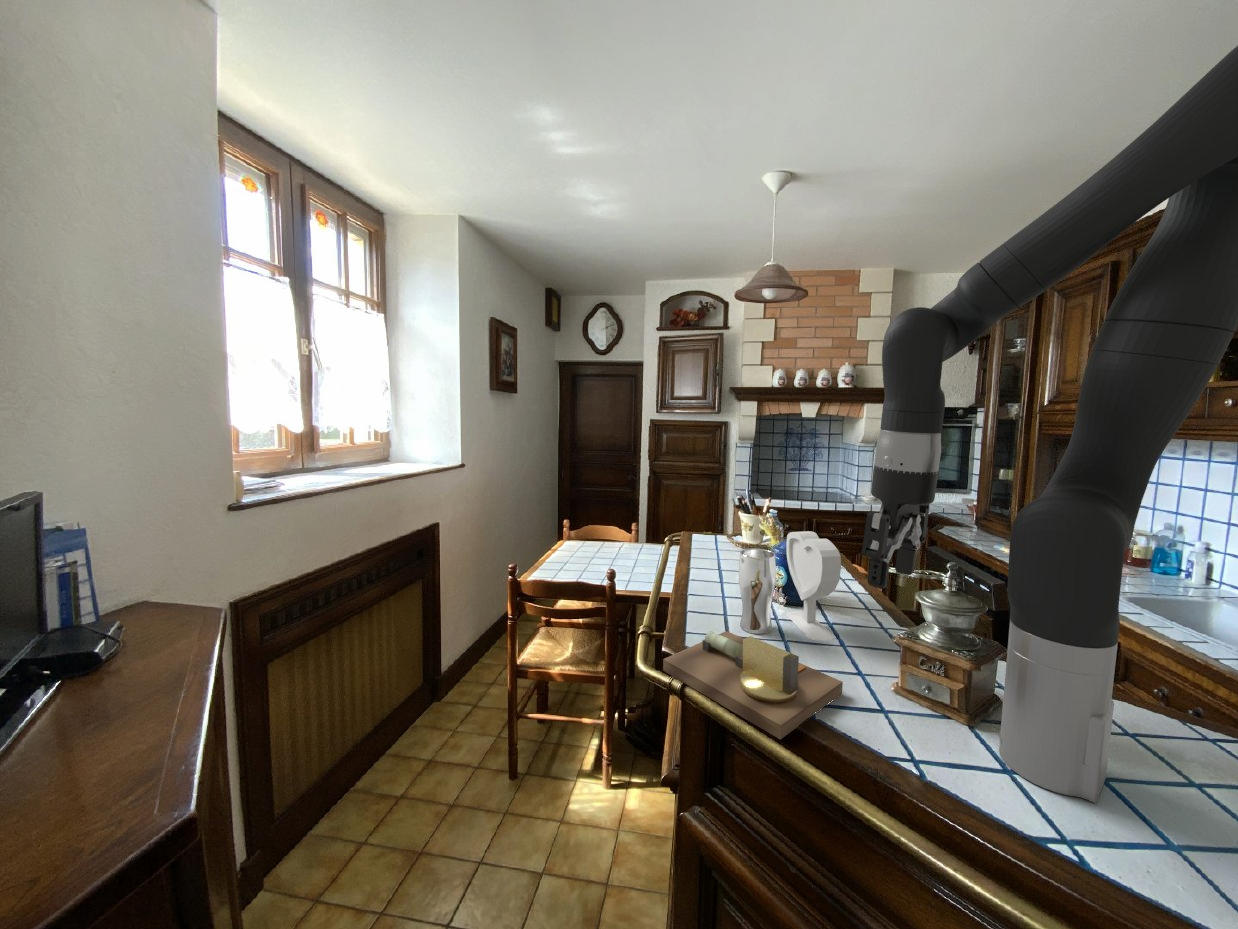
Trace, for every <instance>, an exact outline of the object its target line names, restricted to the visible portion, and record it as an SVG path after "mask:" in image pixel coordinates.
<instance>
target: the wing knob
mask: <svg viewBox="0 0 1238 929" xmlns="http://www.w3.org/2000/svg"><path fill="white" fill-rule="evenodd" d="M799 660H800V659H799V655H797V654H795V653H791V652H789V651H787V650H784V649H782V648H780V647H777V646H775V645H772V644H770V643H768V642H765V641H763V640H761V639H758V638H756V637H754V636H751V635H750V636H748V637H745V638H744V639H743V672H742V673H741V682H740V683H741V687H742V689H743V690H744V691H745V692H746V693H747V694H748V695H750V696H752V697H754V698H756V699H758V700H761V701H765V702H772V703H781V702H787V701H790V700H792V699H793V698H795V697H796V695H797V692H798V664H799V663H800V662H799Z"/></svg>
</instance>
